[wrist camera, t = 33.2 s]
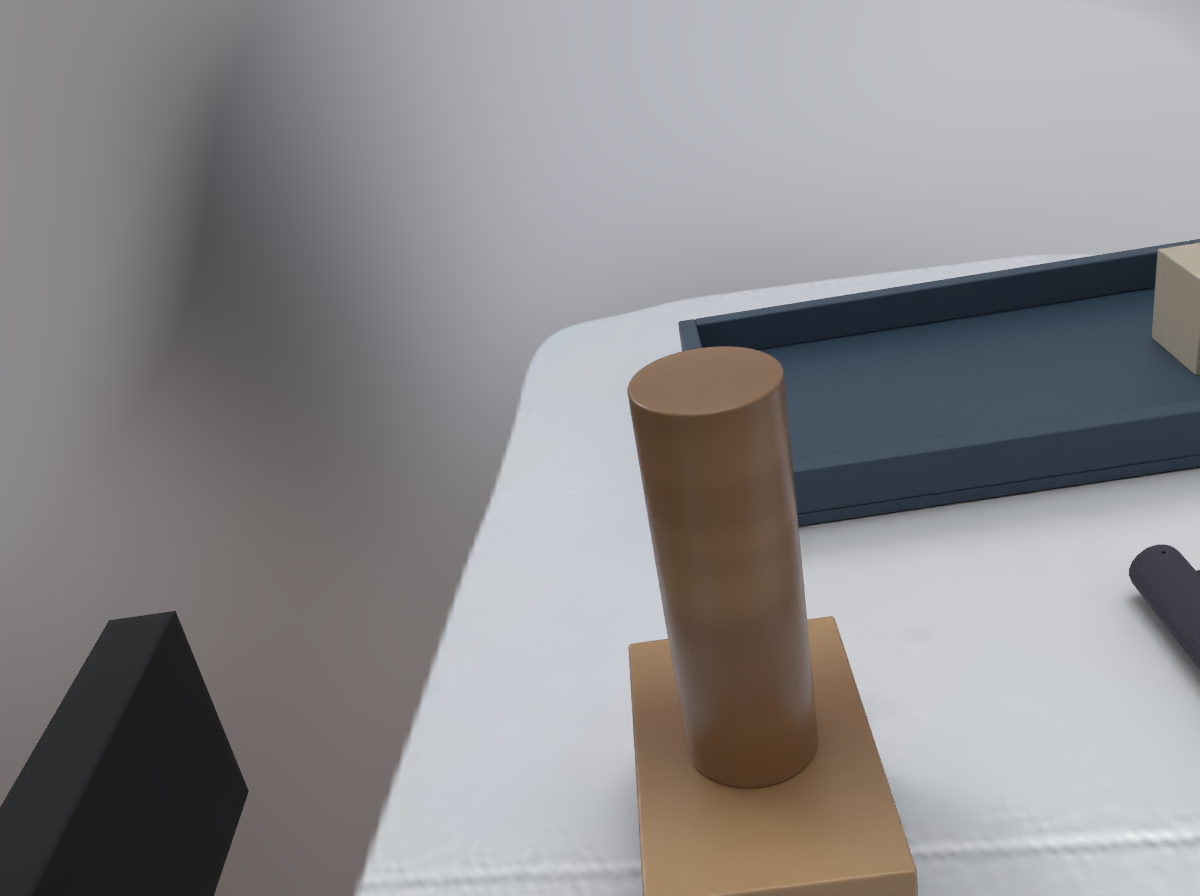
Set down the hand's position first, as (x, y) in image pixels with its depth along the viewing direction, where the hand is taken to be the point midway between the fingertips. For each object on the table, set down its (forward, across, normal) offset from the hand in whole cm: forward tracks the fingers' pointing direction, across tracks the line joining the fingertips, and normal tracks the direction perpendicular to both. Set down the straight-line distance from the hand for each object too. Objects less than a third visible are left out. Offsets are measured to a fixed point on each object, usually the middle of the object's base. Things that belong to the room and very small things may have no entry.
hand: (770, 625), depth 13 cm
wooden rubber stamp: (+10, 0, -15) cm, 18 cm away
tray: (+33, +13, -15) cm, 38 cm away
